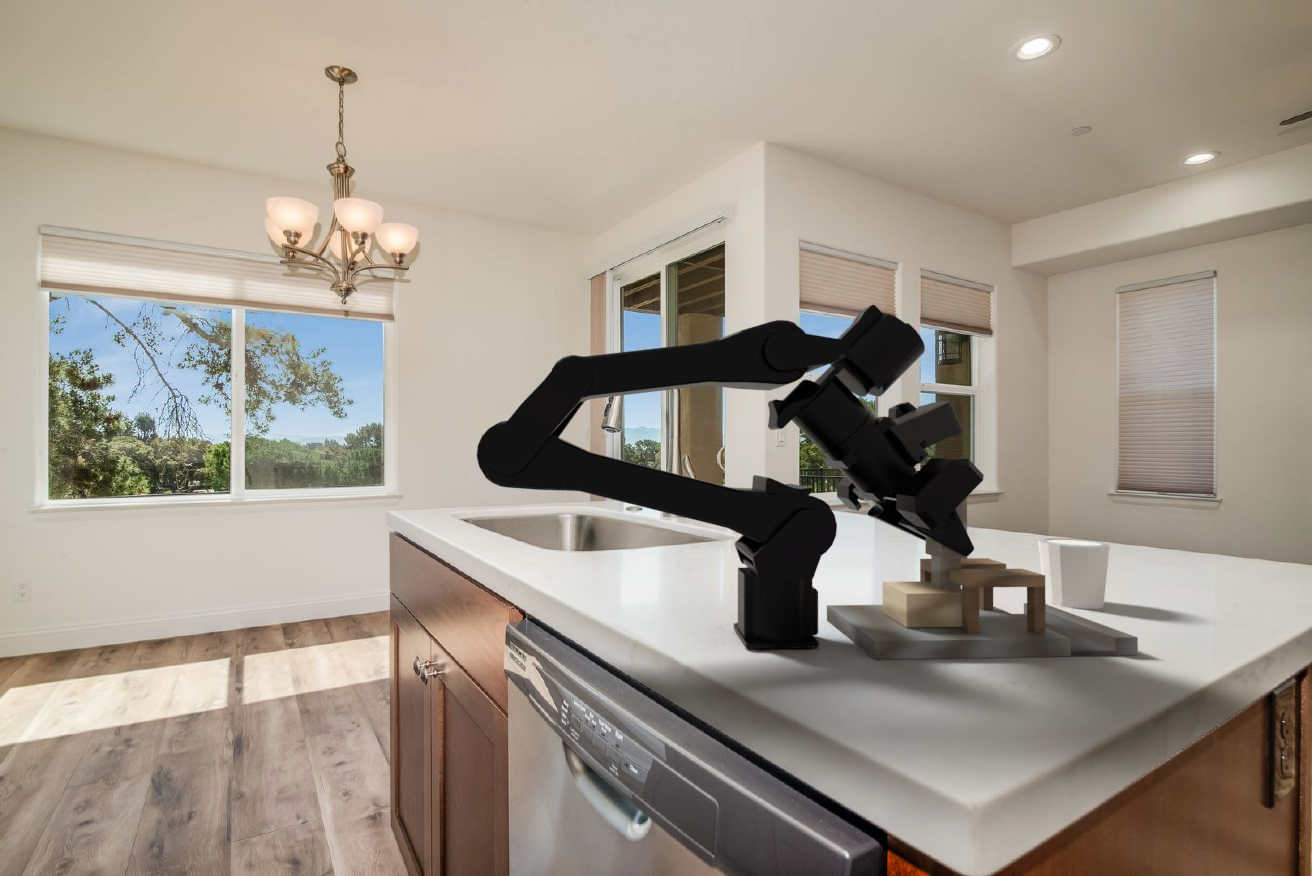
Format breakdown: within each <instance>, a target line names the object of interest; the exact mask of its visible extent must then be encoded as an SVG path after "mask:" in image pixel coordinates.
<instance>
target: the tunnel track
mask: <svg viewBox="0 0 1312 876" xmlns="http://www.w3.org/2000/svg"><path fill="white" fill-rule="evenodd" d="M919 573H920V576H919V582H924V581H931V558H920V559H919ZM949 580H950V581H953V582H955V583H958V584H960V585H961V589H962V627H905V626H903V625H902V624H900V623H898V622H897V621H895V620H894V619H892V618H890V617H889V616H887V615H885V614H884V613H883V604H848V605H847V604H842V605H841V604H840V605H834V604H833V605H831V604H829V605H826V621H827V622H828V623H829V624H831V625H832V626H833V627H834V628H835V629H837V630H838V631H840V632H841V633H842V634H843V635H845V637H847V638H849V639H850V640H851V641H852V642H853V643H854V644H855V645H857V646H858V647H859V648H860V649H861V650H863V651H864V652H866V653H867V654H868V655H869V656H871V657H872V658H873V659H874V660H919V659H920V660H923V659H925V660H927V659H931V660H932V659H975V658H977V659H979V658H980V659H981V658H984V659H985V658H987V659H988V658H1032V657H1033V658H1039V657H1041V658H1043V657H1088V656H1089V657H1090V656H1091V657H1093V656H1094V657H1096V656H1098V657H1099V656H1101V657H1102V656H1103V657H1104V656H1105V657H1106V656H1138V655H1139V652H1138V651H1139V649H1138V648H1139V646H1138V645H1139V644H1138V641H1139V640H1138V639H1139V637H1137V636H1135V635H1132V634H1129V633H1127V632H1123V631H1121V630H1118V629H1116V628H1112V627H1110V626H1108V625H1105V624H1101V623H1099V622H1096V621H1094V620H1091V619H1088V618H1085V617H1082V616H1079V615H1077V614H1074V613H1071V612H1068V611H1066V610H1063V609H1059V608H1057V607H1055V606H1052V605H1049V604H1046V601H1045V575H1042V573H1038V572H1035V571H1032V570H1028V569H1026V568H1007V563H1005V562H1001V561H998V560H993V559H991V558H987V557H984V558H983V557H982V558H981V557H978V558H977V557H974V558H971V557H970V558H968V557H967V559H961V569H949ZM994 588H1026V602H1024V603H1023V613H1011V612H1008V611H1006V610H1004V609H1001V608H1000V607H999V608H998V607H996V606H994Z"/></svg>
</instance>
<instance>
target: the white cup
mask: <svg viewBox="0 0 1312 876" xmlns="http://www.w3.org/2000/svg"><path fill="white" fill-rule="evenodd" d="M1037 542H1038V551H1039V561H1040V570H1041V574H1042V575H1045V602H1046V601H1047V602H1046V603H1049V604H1052V605H1055V606H1059V605H1060V607H1064V608H1072V609H1082V610H1097V609H1102V608H1103V607H1105V606H1104V604H1105V595H1106V584H1107V576H1108V567H1109V556H1110V547H1111V545H1109V544H1107V543H1104V542H1099V541H1094V540H1086V539H1076V538H1059V537H1057V538H1044V539H1042V538H1041V539H1038V540H1037Z"/></svg>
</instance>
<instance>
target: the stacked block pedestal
mask: <svg viewBox="0 0 1312 876" xmlns="http://www.w3.org/2000/svg"><path fill="white" fill-rule="evenodd" d="M956 511H957V513H958V515H959V517H960V519H961V521H962V524H963V526H964V528H965V530H966V532H967V533H968V496H967V497H966V498H965V499H964V500H963V501H962V502H961V504H960V505H959V506H958V507H957V508H956ZM925 554H927V555H929V556H930V557H931V558H930V559H931V581H924V582H920V581H882V605H883V613H884V614H885V615H887V616H889V617H890V618H892V619H894V620H895V621H897V622H898V623H900V624H902V625H903V626H905V627H962V585H960V584H958V583H955V582H953V581H950V580H949V569H961V559H967V558H968V556H963V555H961V554H959V553H957V552H955V551H953V550H951V549H949V548H947V547H945V546H943V545H941V544H939V543H937V542H935V541H933V540H931V539H929V538H927V537H926V541H925Z"/></svg>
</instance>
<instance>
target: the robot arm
mask: <svg viewBox="0 0 1312 876" xmlns="http://www.w3.org/2000/svg"><path fill="white" fill-rule="evenodd" d="M925 347H926V346H925V342H924V341H923V339H922V337H921V335H920V334H919V333H918V331H917V330H916V329H915V328H914V327H913V326H912V325H911V324H910V323H908V322H906V323H905V322H904V321H903V320H901V319H900V318H899V317H896V316H894V315H893V314H890V313H888V312H882V311H881V309H880V308H878V306H876V305H875V304H871V305H869V306H867V307H865V308H864V309H862V311H860V313H859V314H857V316H856V317H855V318H854V320H853V321H852V323H851V324H850V325H849V326H848V327H847V328H846V329H845V330H844V332H842V334H840V335H839V336H838V338H834V337H828V336H823V335H816V334H810V333H806V332H805V331H804V330H803V329H802V328H801V327H799V325H797V324H796V322H793V321H791V320H786V319H785V320H783V319H777V320H772V321H768V322H765V323H762V324H758V325H755V326H752V327H749V328H744V329H742V330H740V331H739V330H738V331H736V332H734V333H731V334H728V335H726V336H723V337H719V338H716V339H713V340H710V341H706V342H702V343H701V342H699V343H690V344H681V345H674V346H664V347H658V348H657V347H656V348H645V349H638V350H629V351H621V352H611V353H603V354H595V355H587V356H586V355H585V356H583V355H576V354H575V355H574V354H572V355H571V354H570V355H567V356H564V357H561V358H560V359H559V360H557V361H556V362H555V364H554V365H553V367H552V369H551V371H550V372H549V373H548V375H547V376H546V377H545V378H544V380H543V381H541V383H539V385H538V386H537V387H536V388H535V389H534V390H533V391H532V392H531V393H530V394H529V395H528V396H527V397H526V398H525V399H524V400H523V401H522V403H521V404H520V405H519V406H518V407H517V409H516V410H515V411H514V412H513V413H512V415H510V417H509V418H508V420H502V421H499V422H497V423H495V424H494V425H492V426H490V427H489V428H488V429H487V430H486V431H485V432H484V433H483V434H482V435H481V438H480V440H479V442H478V444H477V448H476V460H477V464H478V467H479V470H480V472H482V473H483V475H484V477H485V479H487V480H488V481H489V482H491V483H492V484H494V485H496V486H498V487H503V488H510V489H522V490H523V489H524V490H538V491H540V490H541V491H564V492H565V491H566V492H567V491H569V492H570V491H571V492H581V493H584V494H585V493H586V494H590V495H594V496H598V497H602V498H605V499H610V500H613V501H618V502H622V503H626V504H630V505H633V506H638V507H641V508H645V509H649V510H654V511H659V512H662V513H666V514H669V515H675V516H678V517H681V518H682V517H683V518H685V519H686V518H687V519H689V520H694V521H698V522H702V523H706V524H709V525H710V524H711V525H713V526H717V527H718V526H719V527H721V528H726V529H729V530H731V531H733V532H735V533H737V534H739V535H741V536H739V538H738V539H737V540H736V541H735V542H734V546H735V550H736V552H737V556H738V558H739V561H740V563H742V565H743V564H744V565H745V566H747V567H737V622H734V623H733V630H734V632H735V633H736V634H737V636H738V638H739V639H740V640H741V643H743V645H744V646H745V648H748V649H787V648H788V649H789V648H790V649H793V648H794V649H796V648H797V649H798V648H799V649H800V648H805V649H806V648H818V647H819V646H820V641H819V640H818V639H817V638H816V637H815V636H817V635H818V633H819V591H818V589H816V588H815V586H813V580H814V577H815V575H816V571H817V569H818V565H819V563H820V561H821V558H822V556H823V555H824V554H826V553H827V552H828V551H829V549H830V548H831V547H832V546H833V544H834V542H835V539H836V537H837V530H838V524H837V519H836V515H835V513H834V512H833V510H832V508H831V506H830V504H829V503H827V502H826V501H824V500H822V498H821V499H820V498H819V497H816V496H814V495H810V494H812V493H813V492H814V491H813V490H814V489H813V488H812V487H808V486H804V485H798V484H793V483H786V484H785V483H782V482H781V481H778V480H776V479H773V478H771V477H767V476H761V475H758V474H757V475H756V474H754V475H753V476H752V484H751V486H752V487H750V488H748V487H730V486H725V485H721V484H717V483H714V482H709V481H705V480H702V479H698V478H694V477H690V476H686V475H682V474H677V473H676V472H675V473H674V472H670V471H668V470H667V471H666V470H662V469H658V468H654V467H651V466H646V465H643V464H638V463H634V462H631V461H627V460H624V459H618V458H615V457H611V456H606V455H605V454H604V455H602V454H599V453H594V452H593V451H589V450H587V449H585V448H582V447H581V446H579V445H576V444H574V443H572V442H569V441H568V440H566V439H563V438H561V437H560V436H561V435H562V434H563V432H564V431H565V429H566V428H567V427H568V425H569V424H570V423H571V421H572V420H573V418H574V416H576V414H577V413H578V411H579V410H580V408H581V407H582V406H583V405H584V403H585V402H587V401H590V400H595V399H603V398H612V397H620V396H627V395H637V394H644V393H652V392H655V393H656V392H662V391H670V390H672V391H673V390H678V389H679V390H680V389H686V388H695V387H704V386H706V387H719V388H727V389H728V388H729V389H734V390H736V389H737V390H751V391H753V390H754V391H773V390H775V389H778V388H781V387H786V386H788V385H789V384H790V385H791V384H792V383H793V384H794V383H795V382H797V381H799V380H800V379H802V378H803V376H804V375H805V374H806V373H810V372H812V371H813V372H814V370H818V369H820V368H822V367H825V366H828V365H830V366H829V367H828V368H827V369H826V370H825V371H824V372H823V373H822V374H821V375H820V376H819V377H818V378H817V379H816V380H814V381H812V380H810V379H803V380H801V381H800V383H798V384H797V385H796V386H795V387H794V388H793V389H792V390H791V391H790V392H789V393H788V395H786V396H785V397H784V398H783V399H777V398H775V399H773V400H769V401H768V402H767V407H768V411H769V412H768V414H769V415H768V424H767V427H768V429H769V430H771V431H774V430H783V429H785V427H786V426H788V424H789V423H790V422H791V421H792V422H793V424H795V426H797V427H798V428H799V429H800V430H801V431H802V433H803V434H804V435H806V437H807V438H809V440H810V441H811V442H812V443H813V444H814V445H815V446H816V447H817V448H818V449H819V450H820V451H821V452H822V453H823V454H824V455H825V458H824V459H823V461H824V462H825V464H826V465H827V466H828V467H829V468H832V469H834V468H835V469H838V470H840V472H841V473H842V474H843V475H844V477H843V478H842V479H841V480H840V481H839V482H838V483H837V485H836V497H837V498H838V499H839V500H840V501H841V503H843V504H844V506H845V507H847V509H849V510H852V511H857V512H858V511H860V509H862V505H861V502H860V501H864V502H866V503H867V504H868V505H869V506H870V507H871V508H870V509H869V510H868V512H867V513H866V514H867V516H868V517H870V518H873V519H875V520H877V521H879V522H882V523H884V524H887V525H888V526H891V527H893V528H896V529H898V530H900V531H901V532H905V533H907V534H908V535H912V536H914V537H915V538H918V539H920V540H921V541H924V542H926V537H927V538H929V539H931V540H933V541H935V542H937V543H939V544H941V545H943V546H945V547H947V548H949V549H951V550H953V551H955V552H957V553H959V554H961V555H963V556H967V557H969V556H970V555H971V554H972V553H973V551H974V550H975V547H974V544H973V542H972V540H971V538H970V536H969V534H968V531H967V532H966V530H965V528H964V526H963V524H962V521H961V519H960V517H959V515H958V513H957V511H956V508H957V507H958V506H959V505H960V504H961V502H962V501H963V500H964V499H965V498H966V497H967V498H968V496H969V495H971V493H973V491H974V490H975V489H976V488H978V487H979V485H981V483H982V482H983V481H984V476H985V475H984V473H982V471H981V470H979V469H978V467H977V466H976V465H975V464H974V463H973V462H972V461H971V460H970V459H969V458H957V457H954V458H953V457H931V458H930V459H929V460H928V461H927V462H926V463H925V464H924V465H923V466H922V467H921V468H920V469H919V470H917V468H916V466H917V465H920V464H921V463H922V462H923V461H924V460H925V459H926V458H927V457H928V456H929V452H927V451H926V450H925V449H927V448H929V447H931V446H934V445H936V444H938V443H940V442H942V441H944V440H947V439H948V438H951V437H952V438H956V437H958V436H960V435H962V434H963V433H964V432H965V430H964V428H963V426H962V423H961V421H960V418H959V417H958V415H957V413H956V411H955V408H954V406H953V404H952V402H951V400H944V401H943V400H941V401H937V402H929V403H927V404H923V405H920V406H918V407H916V406H914V405H913V404H912V403H910V402H908V401H907V402H900V403H898V404H896V405H893V406H891V407H889V408H888V412H887V414H888V416H885V415H884V416H876V415H875V414H874V413H872V411H871V410H870V409H868V407H866V405H865V404H864V403H863V402H862V401H861V400H860V399H859V398H858V397H860V398H861V397H863V398H865V397H867V396H868V395H870V396H874V397H881V396H883V395H884V393H886V392H887V391H888V390H889V388H891V387H892V386H893V384H895V382H896V381H898V380H899V378H901V377H902V376H903V374H905V373H906V372H907V370H908V369H909V368H910V367H911V366H912V365H913V364H915V363H916V361H917V360H918V359H919V358H920V357H921V356H922V355H924V353H925V350H926V348H925ZM857 396H858V397H857ZM859 500H860V501H859Z"/></svg>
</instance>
